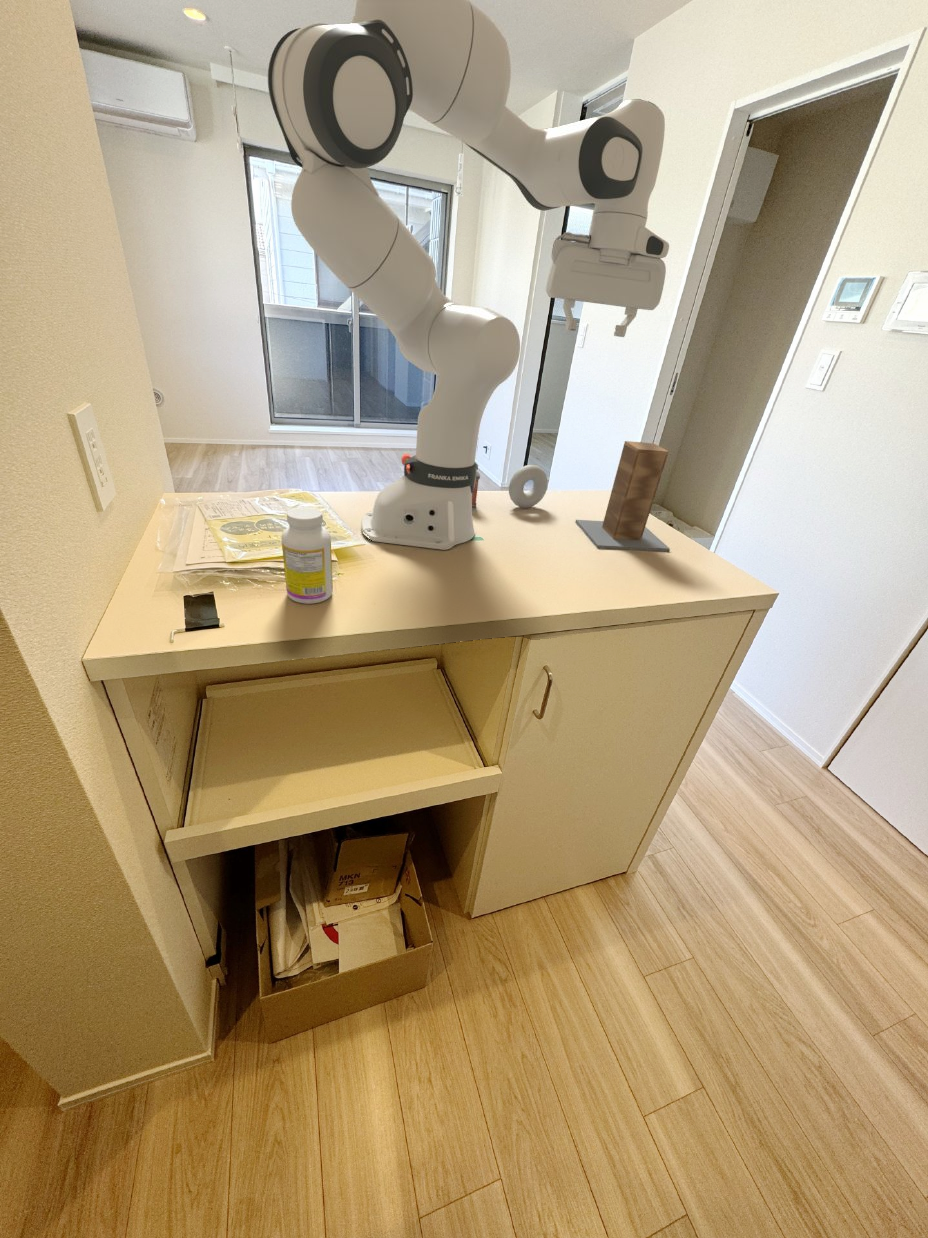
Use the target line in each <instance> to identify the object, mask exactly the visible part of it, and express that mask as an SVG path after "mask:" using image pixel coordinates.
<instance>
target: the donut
mask: <svg viewBox="0 0 928 1238" xmlns="http://www.w3.org/2000/svg"><path fill="white" fill-rule="evenodd" d="M547 476H548V475H547V474H546V471H545V470H544V469H543V468H541V467H540V466H538V465H534V464H528V465H524V466H522V467H521V468H519V469H517V471H515V473H514V474H513V475H512V477H511V479H510V482H509V485H508V495H509V498H510V500H511V502H513V504H514V505H515V506H517V507H519V508H523V509H524V508H525V509H527V508H531V507H534V506H535V505H538V504H539V503H540V502H541V501H542V500H543V498H544V497H545V495H546V493H547V490H548V487H549V486H548V485H549V484H548V482H549V481H548V477H547ZM528 481H532V483H533V484H532V485H533V486H532V488H531V489H530V490H529V491H528V492H524V491H525V490H524V488H525V485H526V483H528Z"/></svg>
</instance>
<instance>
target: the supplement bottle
mask: <svg viewBox="0 0 928 1238" xmlns="http://www.w3.org/2000/svg"><path fill="white" fill-rule="evenodd" d="M323 517H324V516H323V512H322V510H320V509H318V508H317V507H316V508H315V507H309V506H298V507H293V508H291V509H289V510H287V511H286V522H287V524H288V526H287V527H286V528H285V529H284V530H283V532H282V534H281V536H280V537H281V547H282V548H281V549H282V557H283V559H282V560H283V569H284V577H285V578H284V579H285V587H286V589H285V590H286V595H287V597H288V598H290V600H292V601H294V602H296V603H300V604H305V605H306V604H307V605H310V604H319V603H321V602H324V601H326V600H328V599H329V598H330V597H331V596H332V595H333V591H334V587H333V586H334V585H333V582H334V581H333V562H332V561H333V560H332V538H331V533H330V531H329V530H328V529H327V528H325V527H324V526H322V525H323V522H324V518H323Z"/></svg>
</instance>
